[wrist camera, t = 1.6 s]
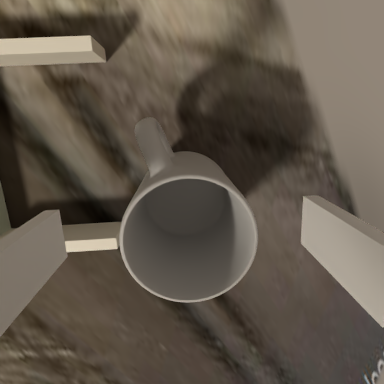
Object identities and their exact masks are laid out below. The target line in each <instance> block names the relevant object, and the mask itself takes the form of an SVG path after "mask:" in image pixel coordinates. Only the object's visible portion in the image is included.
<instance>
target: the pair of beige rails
mask: <svg viewBox="0 0 384 384" xmlns="http://www.w3.org/2000/svg"><path fill="white" fill-rule="evenodd" d="M95 62H106V54H105V49H104V48H103V47H102V46H101V45H100V44H99V43H98V42H97V41H96V40H95V39H94V38H93V37H92V36H65V37H39V38H13V39H0V66H23V65H47V64H71V63H95ZM120 227H121V222H106V223H90V224H74V225H62V229H63V234H64V240H65V246H66V251H67V252H76V251H92V250H108V249H118V247H119V234H120ZM16 229H17V228H11V225H10V221H9V217H8V212H7V208H6V203H5V199H4V195H3V190H2V186H1V181H0V239H2V238H3V237H5V236H6V235H8V234H9V233H11V232H12V231H14V230H16Z"/></svg>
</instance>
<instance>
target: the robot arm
mask: <svg viewBox="0 0 384 384" xmlns="http://www.w3.org/2000/svg"><path fill="white" fill-rule="evenodd" d="M301 244H302V245H303V246H304V247H305V248H306V249H307V250H308V251H309V252H310V253H311V254H312V255H313V256H314V257H315V258H316V259H317V260H318V261H319V262H320V263H321V264H322V265H323V266H324V267H325V269H326V270H327V271H328V272H329V273H330V274H331V275H332V276H333V277H334V278H335V279H336V280H337V281H338V282H339V283H340V284H341V285H342V286H343V287H344V288H345V289H346V290H347V291H348V292H349V293H350V294H351V295H352V296H353V298H354V299H355V300H356V301H357V302H358V303H359V304H360V305H361V306H362V307H363V308H364V309H365V310H366V311H367V312H368V313H369V314H370V315H371V316H372V317H373V318H374V319H375V320H376V321H377V322H378V323H379V324H380V325H381V327H384V232H382V231H381V230H379V229H377V228H375V227H373V226H372V225H370V224H368V223H366V222H364V221H363V220H361V219H359V218H357V217H355V216H354V215H352V214H350V213H348V212H346V211H345V210H343V209H341V208H339V207H337V206H336V205H334V204H332V203H330V202H328V201H327V200H325V199H323V198H321V197H319V196H318V195H314V196H303V213H302V231H301ZM66 258H67V251H66V246H65V240H64V234H63V229H62V223H61V217H60V211H59V210H45V211H43V212H41V213H40V214H38V215H37V216H35V217H34V218H32V219H31V220H29V221H28V222H26V223H25V224H23V225H22V226H20V227H19V228H17V229H16V230H14V231H12V232H11V233H9V234H8V235H6V236H5V237H3V238H2V239H0V336H1V335H2V334H3V333H4V332H5V330H6V329H7V328H8V327H9V326H10V324H11V323H12V322H13V321H14V320H15V318H16V317H17V316H18V315H19V314H20V312H21V311H22V310H23V309H24V308H25V307H26V305H27V304H28V303H29V302H30V301H31V299H32V298H33V297H34V296H35V295H36V293H37V292H38V291H39V290H40V289H41V288H42V286H43V285H44V284H45V283H46V282H47V280H48V279H49V278H50V277H51V276H52V274H53V273H54V272H55V271H56V270H57V269H58V267H59V266H60V265H61V264H62V263H63V261H64V260H65V259H66Z"/></svg>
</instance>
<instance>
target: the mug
mask: <svg viewBox="0 0 384 384" xmlns="http://www.w3.org/2000/svg"><path fill="white" fill-rule="evenodd" d="M135 136H136V140H137V142H138V145H139V148H140V150H141V152H142V155H143V157H144V159H145V161H146V163H147V166H148V168H149V170H148V171H147V173H146V175H145V176H144V179H143V181H142V183H141V184H140V186H139V188H138V190H137V191H136V193H135V195H134V196H133V198H132V200H131V202H130V203H129V205H128V207H127V209H126V211H125V214H124V216H123V219H122V222H121V227H120V234H119V244H120V251H121V254H122V258H123V261H124V263H125V265H126V267H127V269H128V271H129V272H130V274H131V275H132V276H133V278H134V279H135V280H136V281H137V282H138V283H139V284H140V285H141V286H142V287H144V288H145V289H146V290H148V291H149V292H151V293H153V294H155V295H156V296H159V297H161V298H164V299H167V300H171V301H177V302H199V301H204V300H208V299H211V298H214V297H216V296H219V295H221V294H223V293H224V292H226V291H228V290H229V289H231V288H232V287H233V286H235V285H236V284H237V283H238V282H239V281H240V280H241V279H242V278H243V277H244V275H245V274H246V273H247V271H248V270H249V268H250V266H251V265H252V262H253V260H254V258H255V254H256V251H257V245H258V228H257V222H256V219H255V216H254V213H253V211H252V209H251V207H250V205H249V203H248V202H247V200H246V199H245V197H244V196H243V195H242V194H241V193H240V191H239V190H238V189H237V188H236V187H235V185H234V184H233V183H232V182H231V181H230V180H229V178H228V177H227V176H226V175H225V173H224V172H223V170H222V169H221V168H220V167H219V166H218V165H217V164H216V163H215V162H214V161H213V160H211V159H210V158H208V157H206V156H204V155H202V154H199V153H196V152H189V151H181V152H175V153H173V151H172V149H171V147H170V145H169V142H168V140H167V138H166V136H165V134H164V131H163V129H162V128H161V126H160V124H159V123H158V121H157V120H156V119H154V118H152V117H148V118H144V119H142V120H141V121H139V122H138V123H137V124H136V126H135Z"/></svg>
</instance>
